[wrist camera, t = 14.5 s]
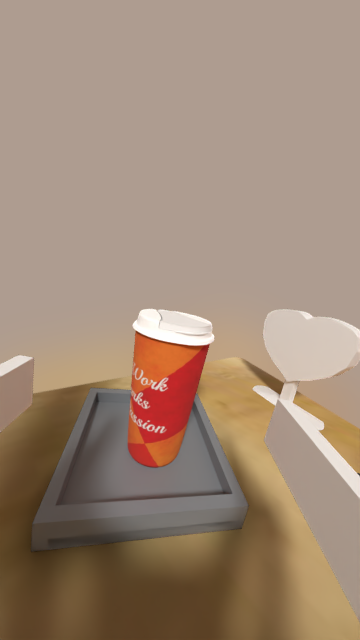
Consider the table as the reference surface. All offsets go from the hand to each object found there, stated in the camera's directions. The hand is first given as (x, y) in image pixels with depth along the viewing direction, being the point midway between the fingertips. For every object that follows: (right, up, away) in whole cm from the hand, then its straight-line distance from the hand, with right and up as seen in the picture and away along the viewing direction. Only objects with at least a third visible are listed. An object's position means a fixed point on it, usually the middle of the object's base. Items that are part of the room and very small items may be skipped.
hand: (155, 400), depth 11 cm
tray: (-3, -11, +12) cm, 16 cm away
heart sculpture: (+22, -12, +28) cm, 37 cm away
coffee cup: (-2, -10, +12) cm, 16 cm away
